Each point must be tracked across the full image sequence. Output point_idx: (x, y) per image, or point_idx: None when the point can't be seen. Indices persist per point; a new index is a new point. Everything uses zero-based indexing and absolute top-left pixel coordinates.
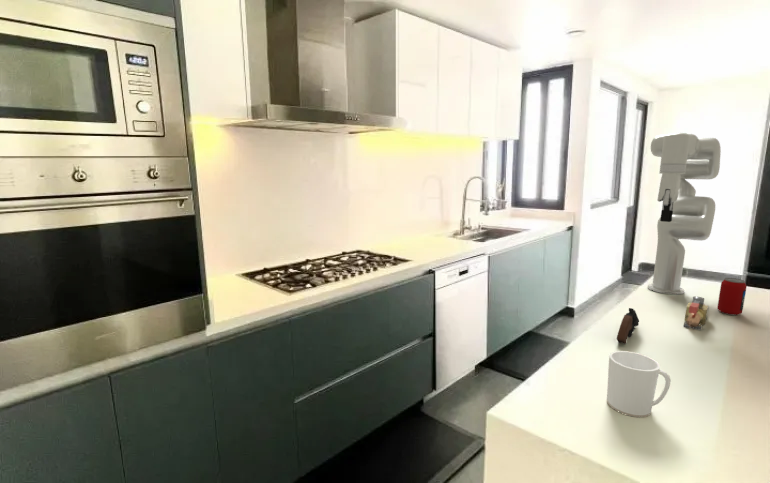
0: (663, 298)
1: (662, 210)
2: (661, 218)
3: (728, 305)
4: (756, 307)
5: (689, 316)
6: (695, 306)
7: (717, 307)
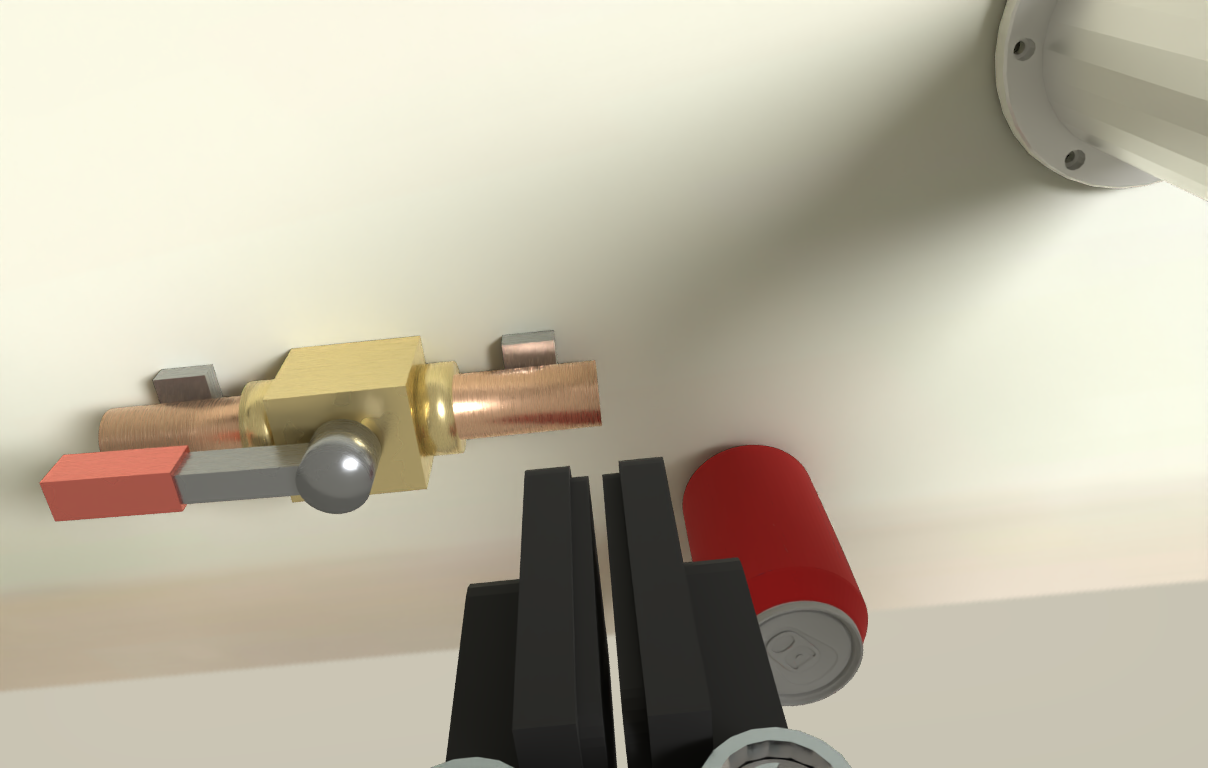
0: (818, 94)
1: (517, 747)
2: (526, 532)
3: (688, 530)
4: (1008, 572)
5: (154, 425)
6: (73, 508)
7: (739, 451)
